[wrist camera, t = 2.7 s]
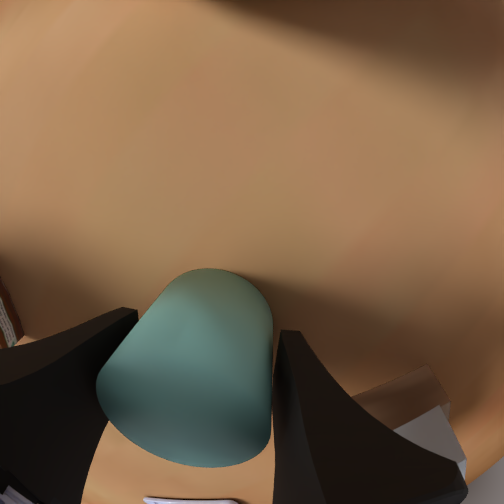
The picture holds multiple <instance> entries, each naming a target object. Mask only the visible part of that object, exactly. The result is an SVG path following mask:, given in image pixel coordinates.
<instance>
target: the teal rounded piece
mask: <svg viewBox="0 0 504 504" xmlns="http://www.w3.org/2000/svg"><path fill="white" fill-rule="evenodd" d="M272 367H273V319H272V314H271V310H270V308H269V305H268V303H267V301H266V300H265V298H264V297H263V295H262V294H261V293H260V291H259V290H258V289H257V288H256V287H255V286H254V285H252V284H251V283H250V282H248V281H247V280H245V279H244V278H242V277H240V276H238V275H236V274H234V273H231V272H228V271H224V270H219V269H208V268H206V269H197V270H192V271H189V272H186V273H184V274H182V275H180V276H178V277H177V278H175V279H174V280H173V281H172V282H171V283H170V284H169V285H168V286H167V287H166V288H165V289H164V291H163V292H162V293H161V294H160V295H159V297H158V298H157V299H156V300H155V302H154V303H153V304H152V305H151V306H150V308H149V309H148V310H147V311H146V313H145V314H144V315H143V316H142V318H141V319H140V320H139V321H138V323H137V324H136V325H135V326H134V328H133V329H132V330H131V331H130V333H129V334H128V335H127V336H126V338H125V339H124V340H123V341H122V343H121V344H120V345H119V347H118V348H117V349H116V350H115V352H114V353H113V354H112V356H111V357H110V358H109V360H108V361H107V362H106V364H105V365H104V366H103V367H102V369H101V371H100V372H99V374H98V377H97V380H96V393H97V397H98V401H99V403H100V406H101V408H102V410H103V411H104V413H105V415H106V416H107V418H108V419H109V420H110V422H111V423H112V424H113V425H114V426H115V427H116V428H117V429H118V430H119V431H120V432H121V433H122V434H123V435H124V436H125V437H127V438H128V439H129V440H130V441H132V442H133V443H135V444H136V445H138V446H139V447H141V448H143V449H144V450H146V451H148V452H150V453H152V454H154V455H156V456H159V457H161V458H164V459H166V460H169V461H172V462H176V463H180V464H184V465H189V466H195V467H209V468H215V467H226V466H232V465H236V464H240V463H243V462H245V461H248V460H250V459H252V458H254V457H255V456H256V455H258V454H259V453H260V452H261V451H262V450H263V449H264V448H265V447H266V445H267V444H268V441H269V439H270V435H271V416H272Z"/></svg>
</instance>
